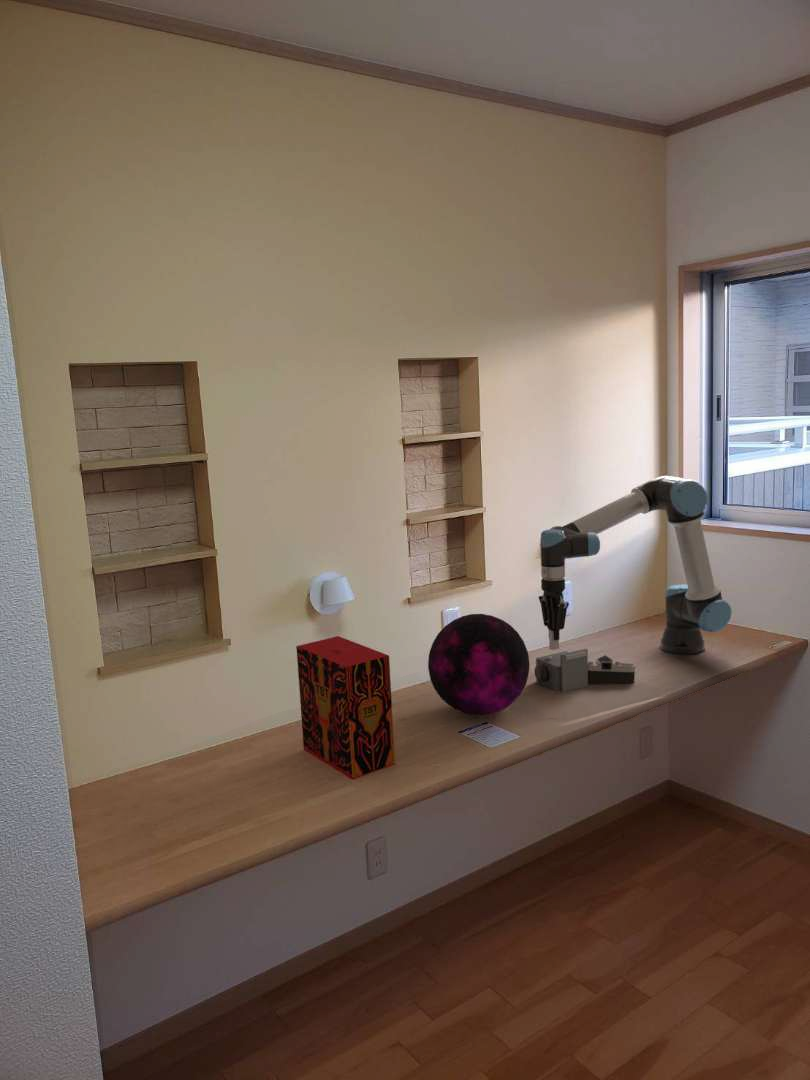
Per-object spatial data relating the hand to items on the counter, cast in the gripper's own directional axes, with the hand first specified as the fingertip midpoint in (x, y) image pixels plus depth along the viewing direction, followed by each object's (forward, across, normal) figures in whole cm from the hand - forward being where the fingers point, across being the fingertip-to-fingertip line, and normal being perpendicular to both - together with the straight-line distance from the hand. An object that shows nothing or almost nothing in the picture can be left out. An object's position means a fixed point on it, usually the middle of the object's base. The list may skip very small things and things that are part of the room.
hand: (554, 648), depth 287 cm
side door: (+10, +10, 0) cm, 15 cm away
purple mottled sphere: (+12, +8, -34) cm, 37 cm away
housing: (+11, +4, 0) cm, 12 cm away
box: (+12, +15, -81) cm, 83 cm away
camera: (+12, +11, +14) cm, 21 cm away
